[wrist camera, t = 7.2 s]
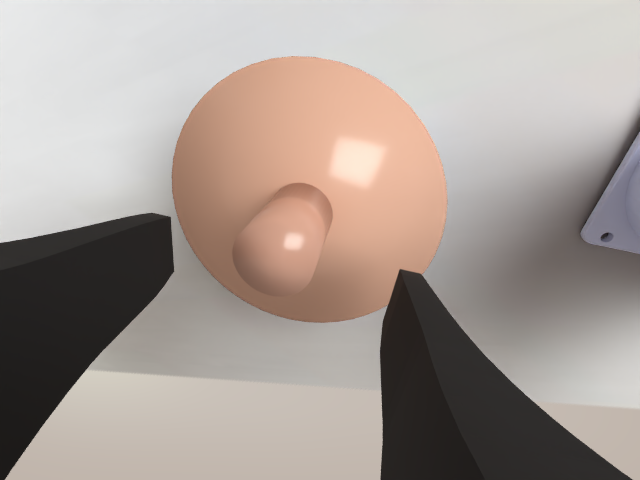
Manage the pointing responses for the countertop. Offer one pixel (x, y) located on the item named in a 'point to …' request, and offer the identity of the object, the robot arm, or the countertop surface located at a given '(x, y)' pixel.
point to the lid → (308, 188)
